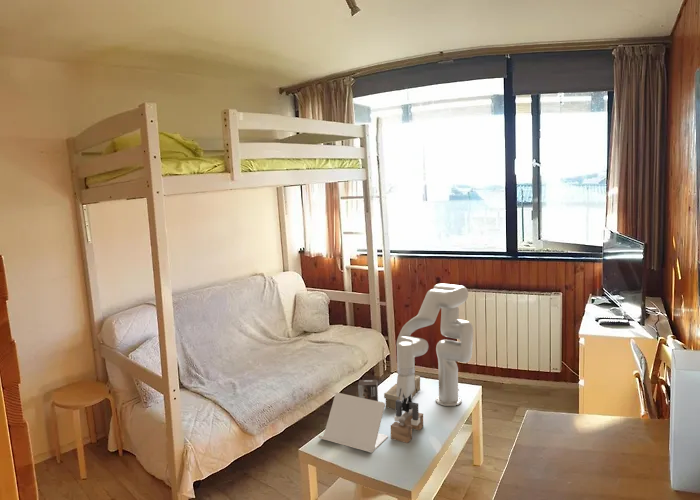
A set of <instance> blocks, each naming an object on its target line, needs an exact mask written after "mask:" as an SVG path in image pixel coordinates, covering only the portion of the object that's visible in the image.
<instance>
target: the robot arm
mask: <svg viewBox="0 0 700 500" xmlns="http://www.w3.org/2000/svg"><path fill="white" fill-rule="evenodd" d="M468 298H469V290H468V288H467V287H466V286H464V285H459V284H452V283H451V284H450V283H437V284H435V285H433V288H431V289H429V290H428V291H427V292H426V294H425V297H424V299H423V301H422V303H421V305H420V309H419V310H418V313H417V315H416V316H414V317H412V318H411V319H409V320H408V321H407V322H406V323H405V324H403V326H402V327H401V329H400V332H399V334H398V336H397V339H396V360H397V364H396V365H397V368H396V369H397V379H396V384H397V397H399V396H400V401H402V412H404V413H405V412H409V409H410V410H411V408H409V403H408V402H413V397H412V393H413V392H414V391H415V376H416V375H415V374H416V366H415V363H416V361H415V360H416V359H415V358H417V357H421V356H423V355H425V354H426V353H427V352H428V350H429V343H428V341H427V340H426V339H424V338H421V337H417V336H416V337H415V336H411V335H412V334H413V333H414V332H416V331H417V330H419V329H422V328H425V327H429V326H432V325H434V324H435V322H436V320H437V317H438V315H439V314H441V316H440V334H441V335H442V336H443V337H446V338H450V339H441V340H439V341H437V343H436V347H435V352H436V356H437V363H438V395H437V396H436V397H435V401H436V403H437V404H438V405H440V406H442V407H456V405H457V406H460V404H461V403H462V398H461V396H459V392H460V389H459V367H458V364H457V362H458V363H463V364H467V363H469V362H470V361H471V360H472V355H473V346H474V344H473V341H474V340H473V339H474V327H473V325H472V322H470V321H469V320H464V319H460V317H459V316H460V309H459V307H460V306H461V305H463V304H465V303H466V301H467V300H468ZM440 310H441V313H439V312H440ZM452 339H457V340H459V341H456V340H452ZM414 375H415V376H414ZM404 398H405V399H404Z"/></svg>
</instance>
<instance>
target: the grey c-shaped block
mask: <svg viewBox="0 0 700 500" xmlns="http://www.w3.org/2000/svg"><path fill="white" fill-rule="evenodd" d="M408 403H409V408H411V409H412V416H413V419H412V420H411V425H416V426H417V425H418V424H419V423H420V418H419V413H420V412H419V403H417V402H413V401H412V402H408ZM403 414H404V413H403V411H402V401H400V400H399V399H397V400H396V409H395V415H394V416H393V417H394V422H399V418H400V417H401V416H402V415H403ZM399 423H400V422H399Z"/></svg>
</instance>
